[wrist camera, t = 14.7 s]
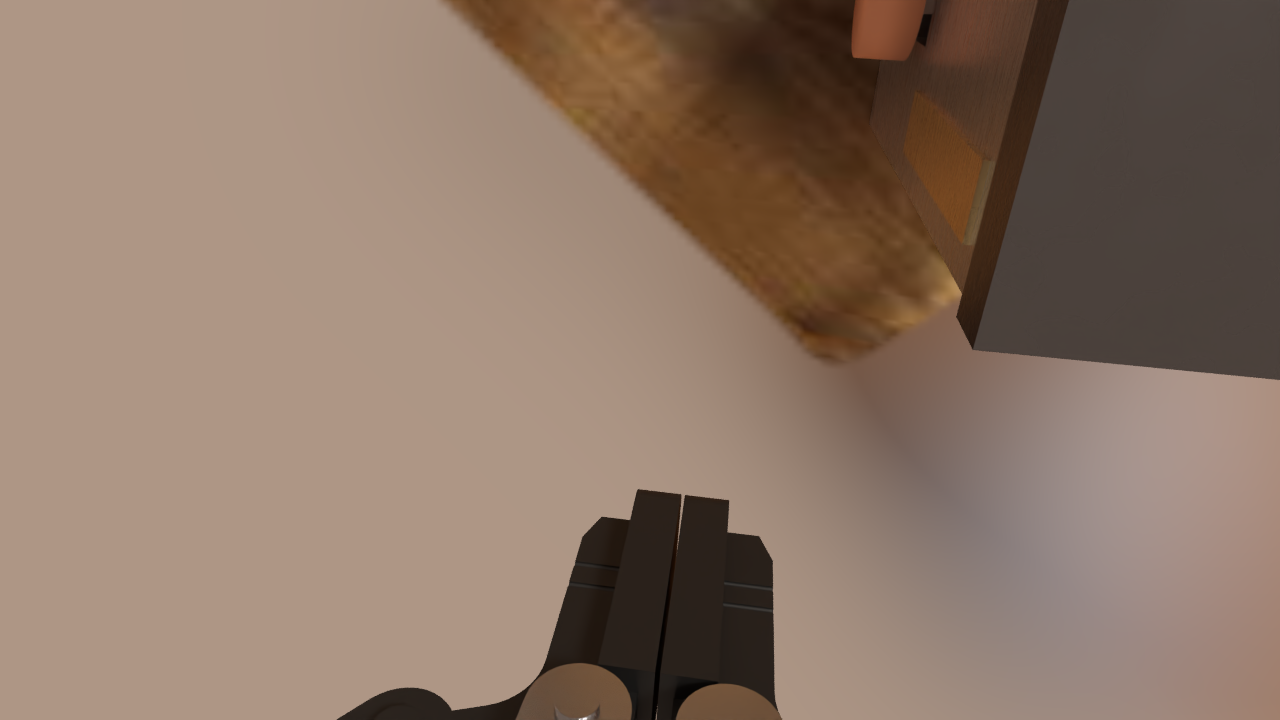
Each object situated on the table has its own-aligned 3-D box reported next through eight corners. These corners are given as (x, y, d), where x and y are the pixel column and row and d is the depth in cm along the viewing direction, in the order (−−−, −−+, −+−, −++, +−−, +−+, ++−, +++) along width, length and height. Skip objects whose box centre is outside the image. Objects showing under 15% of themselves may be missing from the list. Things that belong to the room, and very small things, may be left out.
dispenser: (862, 129, 43) (972, 350, 20) (919, -198, 36) (1182, -414, 13) (1106, 147, 42) (1511, 402, 19) (1213, -188, 35) (2051, -409, 12)
